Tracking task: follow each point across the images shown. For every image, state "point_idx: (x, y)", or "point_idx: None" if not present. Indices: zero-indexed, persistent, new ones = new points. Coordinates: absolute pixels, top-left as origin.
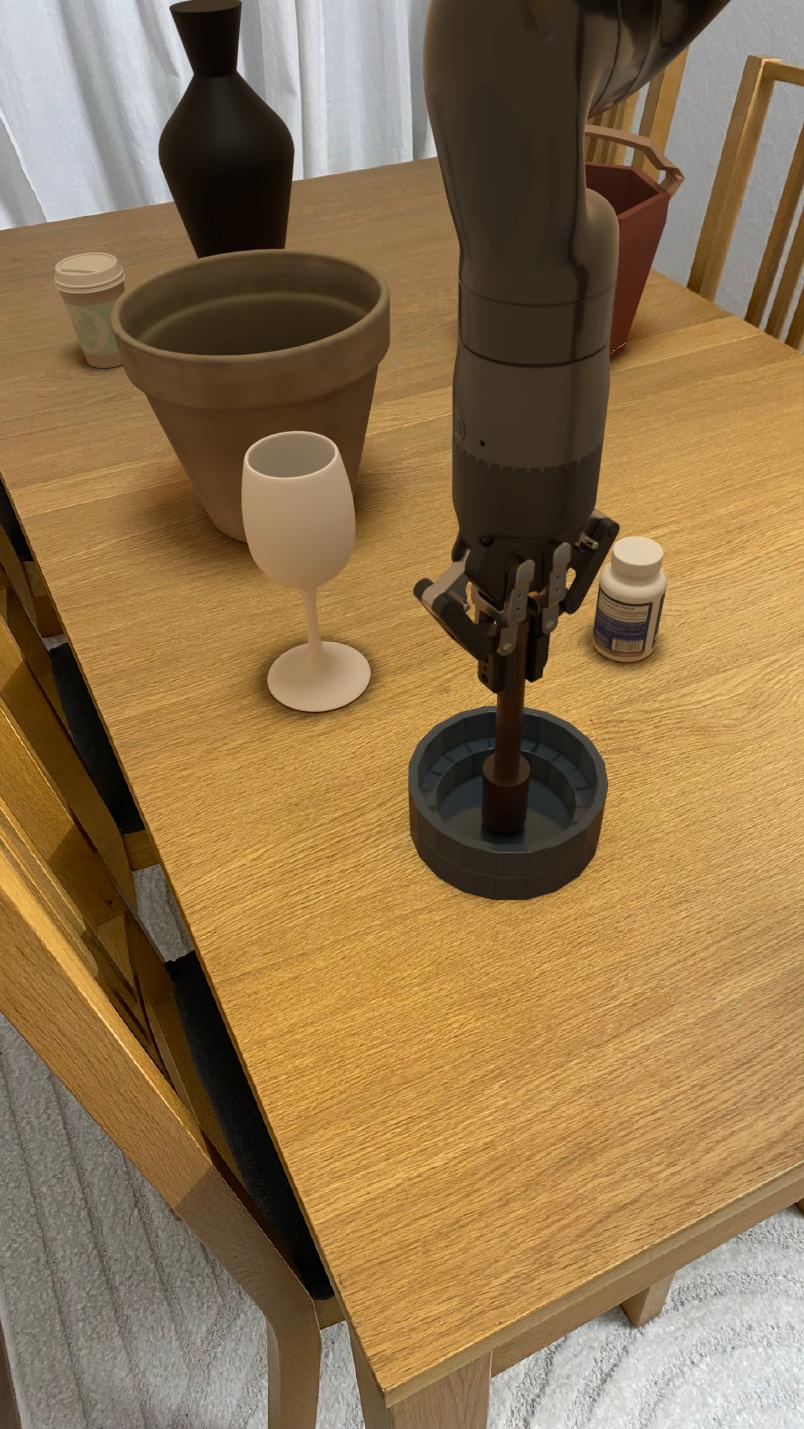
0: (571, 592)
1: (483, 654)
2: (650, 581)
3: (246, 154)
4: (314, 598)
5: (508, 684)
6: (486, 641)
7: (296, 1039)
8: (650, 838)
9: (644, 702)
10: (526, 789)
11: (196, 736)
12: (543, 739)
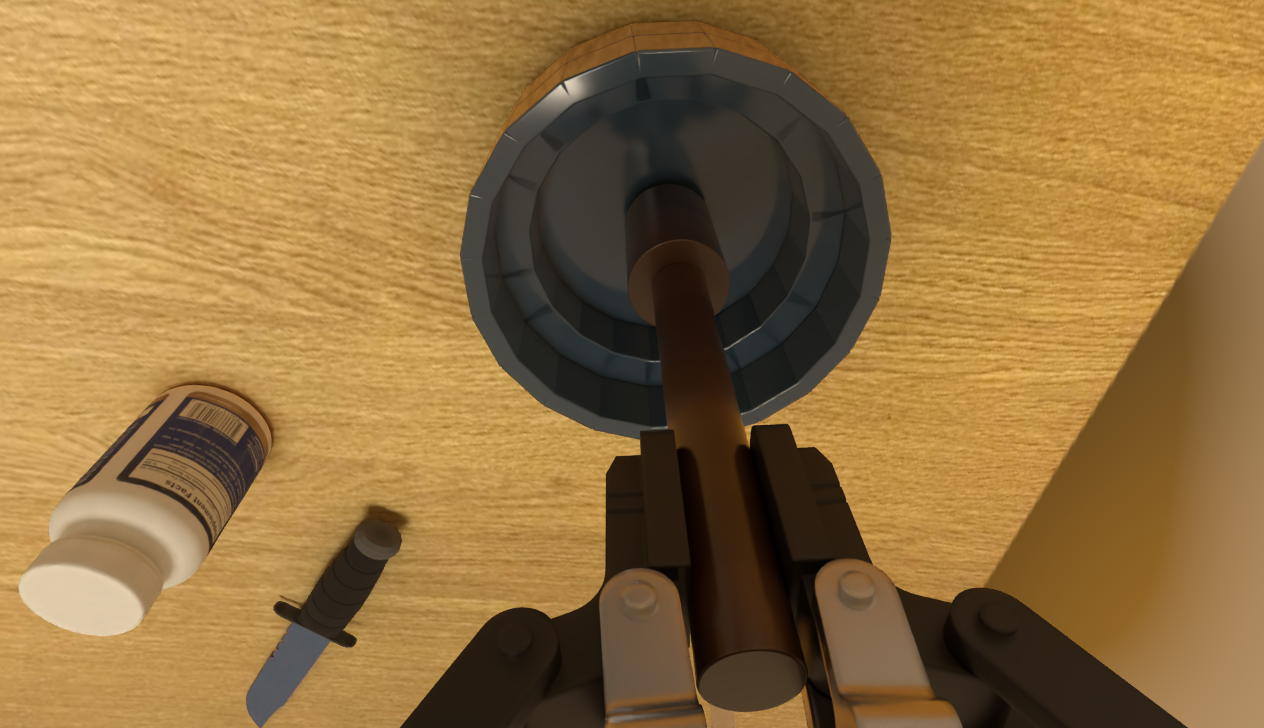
0: (520, 714)
1: (1006, 612)
2: (94, 524)
3: None
4: (721, 720)
5: (789, 456)
6: (1007, 665)
7: (1242, 44)
8: (428, 25)
9: (248, 305)
10: (657, 228)
11: (903, 565)
12: (518, 319)
